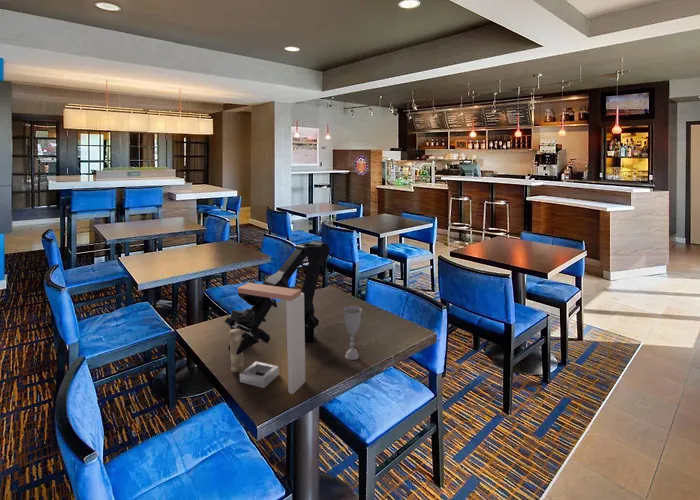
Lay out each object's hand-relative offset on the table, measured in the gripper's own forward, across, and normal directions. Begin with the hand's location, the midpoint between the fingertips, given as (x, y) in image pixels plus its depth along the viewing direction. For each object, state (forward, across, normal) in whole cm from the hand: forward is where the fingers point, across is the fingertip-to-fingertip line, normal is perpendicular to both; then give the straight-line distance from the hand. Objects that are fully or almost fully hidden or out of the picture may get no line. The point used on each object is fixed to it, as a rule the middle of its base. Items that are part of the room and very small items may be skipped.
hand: (233, 352), depth 143 cm
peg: (+4, 0, +6) cm, 7 cm away
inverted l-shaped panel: (+2, +15, +8) cm, 17 cm away
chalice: (-19, +23, +30) cm, 42 cm away
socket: (+3, +10, +7) cm, 13 cm away
